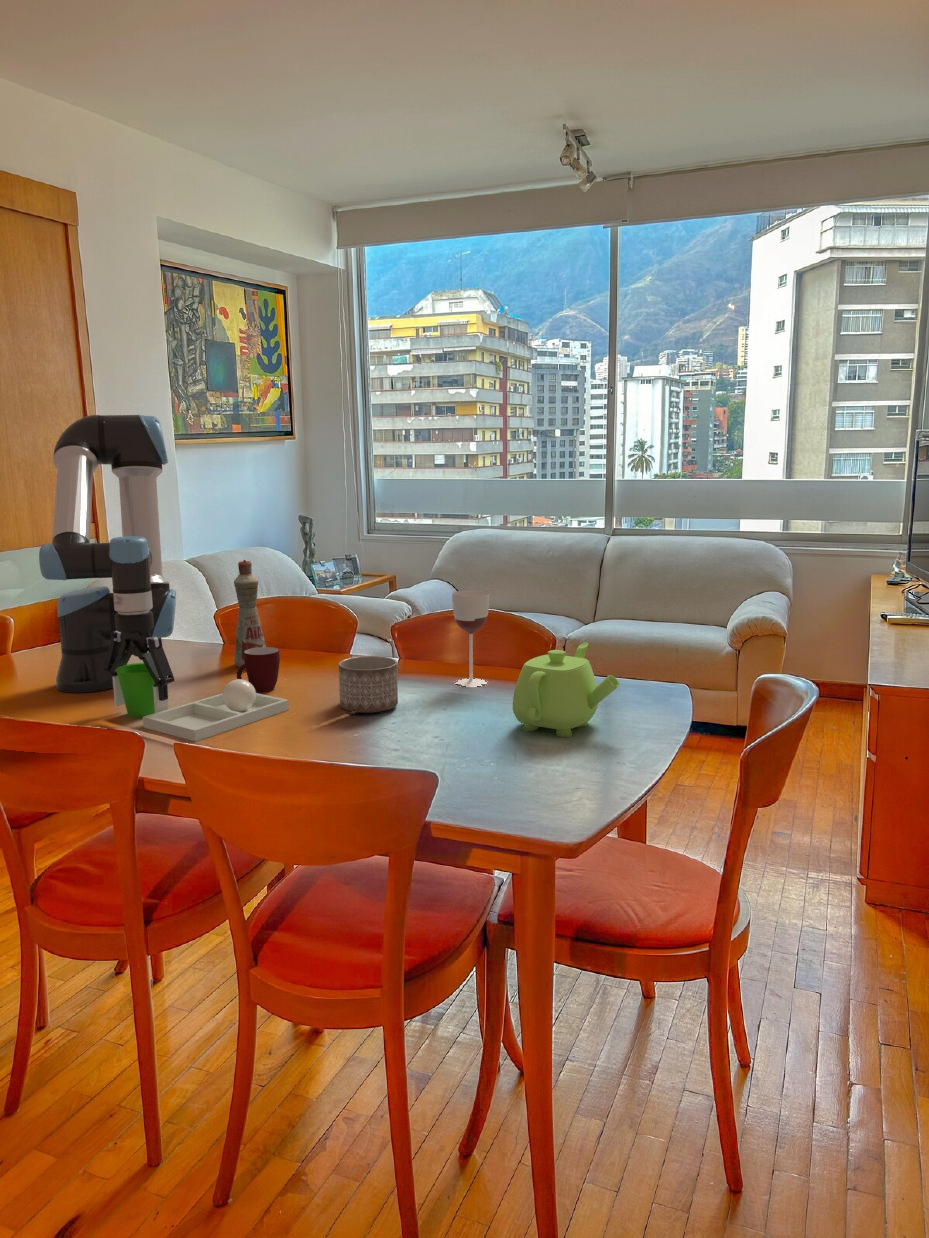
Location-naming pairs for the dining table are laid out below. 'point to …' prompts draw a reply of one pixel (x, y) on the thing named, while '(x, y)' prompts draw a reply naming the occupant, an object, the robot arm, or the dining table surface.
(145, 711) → the cup
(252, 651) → the mug
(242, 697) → the white ball
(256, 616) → the bottle
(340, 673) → the planter
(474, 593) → the wineglass
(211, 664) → the dining table surface
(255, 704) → the tray
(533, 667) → the teapot
